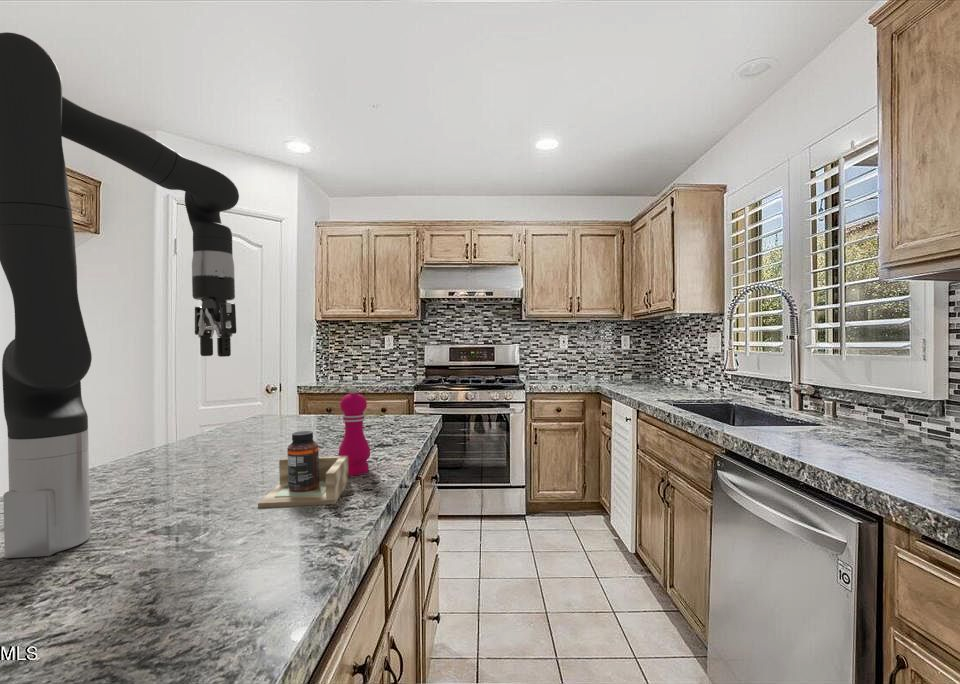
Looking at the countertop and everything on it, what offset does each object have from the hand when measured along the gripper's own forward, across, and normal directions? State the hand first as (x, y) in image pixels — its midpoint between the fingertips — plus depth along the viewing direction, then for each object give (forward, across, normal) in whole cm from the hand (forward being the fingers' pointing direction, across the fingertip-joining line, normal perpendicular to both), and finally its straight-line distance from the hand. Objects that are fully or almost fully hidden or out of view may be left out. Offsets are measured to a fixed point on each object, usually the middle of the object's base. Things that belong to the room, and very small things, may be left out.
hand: (215, 356), depth 97 cm
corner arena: (+28, +14, +11) cm, 33 cm away
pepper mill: (+28, +8, +27) cm, 40 cm away
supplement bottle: (+27, +13, +11) cm, 32 cm away
